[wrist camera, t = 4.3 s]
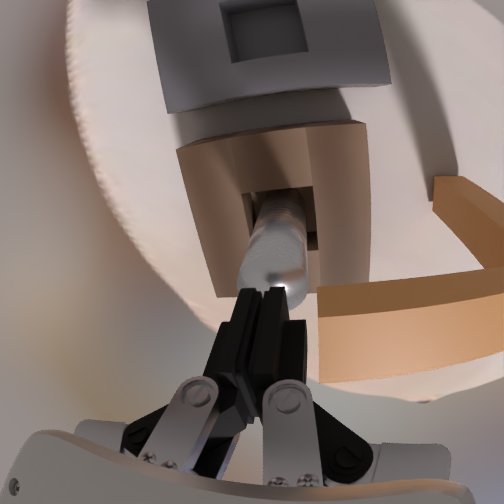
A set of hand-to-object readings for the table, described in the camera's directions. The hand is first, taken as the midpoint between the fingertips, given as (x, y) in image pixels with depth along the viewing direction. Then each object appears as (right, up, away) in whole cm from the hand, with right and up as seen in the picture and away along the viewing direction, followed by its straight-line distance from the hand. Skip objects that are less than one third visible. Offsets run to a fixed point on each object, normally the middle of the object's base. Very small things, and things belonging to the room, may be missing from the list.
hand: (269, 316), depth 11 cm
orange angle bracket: (+10, +7, +9) cm, 15 cm away
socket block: (+2, +6, +11) cm, 13 cm away
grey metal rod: (+2, +6, +10) cm, 12 cm away
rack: (+1, +18, +5) cm, 18 cm away
